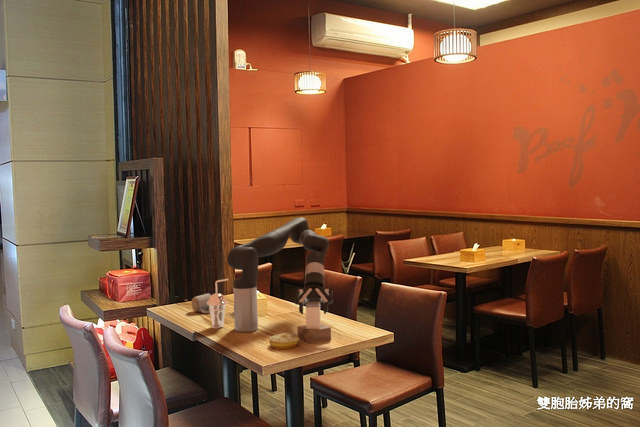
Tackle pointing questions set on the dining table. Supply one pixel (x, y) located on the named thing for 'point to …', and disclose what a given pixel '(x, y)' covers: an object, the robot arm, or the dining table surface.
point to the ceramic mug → (201, 303)
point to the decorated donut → (284, 341)
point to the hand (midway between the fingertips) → (313, 312)
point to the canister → (313, 315)
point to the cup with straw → (217, 307)
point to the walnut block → (314, 334)
